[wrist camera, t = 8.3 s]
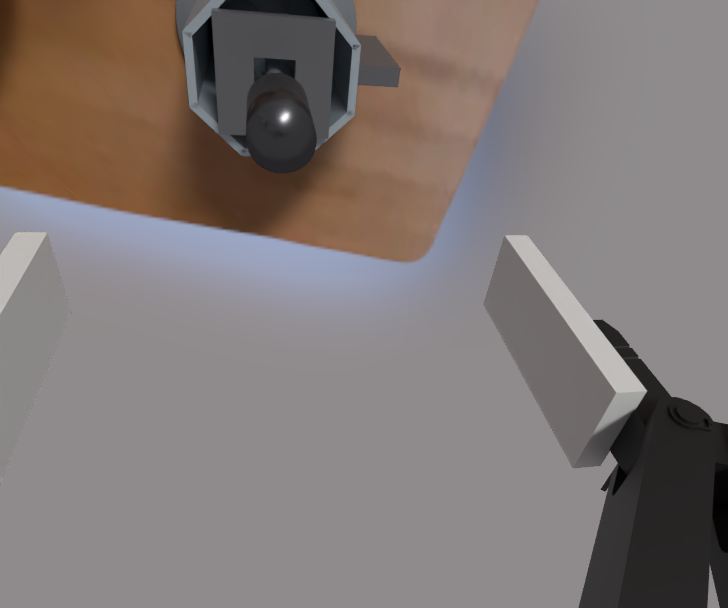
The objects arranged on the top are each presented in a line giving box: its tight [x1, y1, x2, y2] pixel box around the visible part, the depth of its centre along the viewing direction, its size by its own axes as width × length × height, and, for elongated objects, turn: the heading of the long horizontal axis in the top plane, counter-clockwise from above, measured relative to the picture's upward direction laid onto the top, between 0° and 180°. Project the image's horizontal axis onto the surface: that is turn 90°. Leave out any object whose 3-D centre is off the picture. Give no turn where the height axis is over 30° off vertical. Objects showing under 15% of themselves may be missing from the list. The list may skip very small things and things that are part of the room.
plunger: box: [219, 0, 319, 173], centre depth 32 cm, size 8×8×21 cm
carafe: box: [182, 0, 401, 156], centre depth 37 cm, size 13×10×14 cm
